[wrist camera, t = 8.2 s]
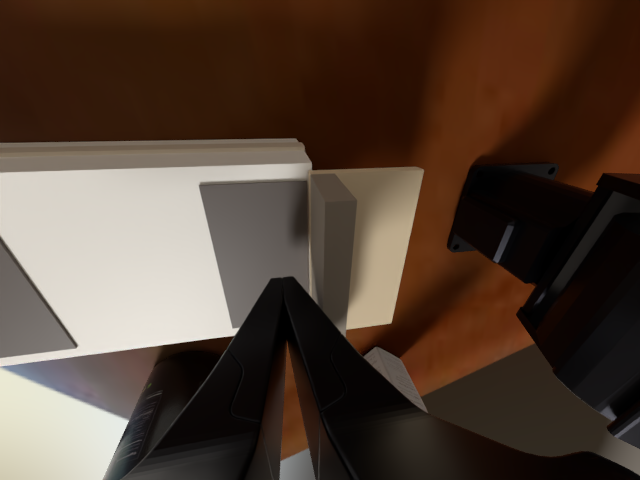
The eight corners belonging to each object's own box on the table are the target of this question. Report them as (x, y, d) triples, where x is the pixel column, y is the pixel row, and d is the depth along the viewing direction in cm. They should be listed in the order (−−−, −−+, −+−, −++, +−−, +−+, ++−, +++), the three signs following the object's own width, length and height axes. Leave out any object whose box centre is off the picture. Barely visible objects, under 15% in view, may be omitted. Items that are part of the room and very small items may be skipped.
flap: (310, 326, 12) (321, 386, 10) (308, 170, 9) (325, 202, 6) (387, 315, 13) (416, 370, 10) (416, 166, 9) (474, 193, 7)
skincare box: (361, 388, 28) (416, 564, 17) (332, 377, 26) (374, 568, 15) (402, 356, 26) (492, 529, 16) (375, 341, 24) (456, 529, 14)
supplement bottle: (252, 363, 22) (237, 589, 12) (210, 403, 24) (167, 629, 14) (176, 336, 19) (70, 608, 9) (135, 385, 21) (8, 657, 11)
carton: (296, 135, 14) (313, 159, 8) (301, 259, 18) (314, 326, 13) (-9, 139, 12) (-239, 175, 6) (75, 279, 16) (-23, 371, 10)
